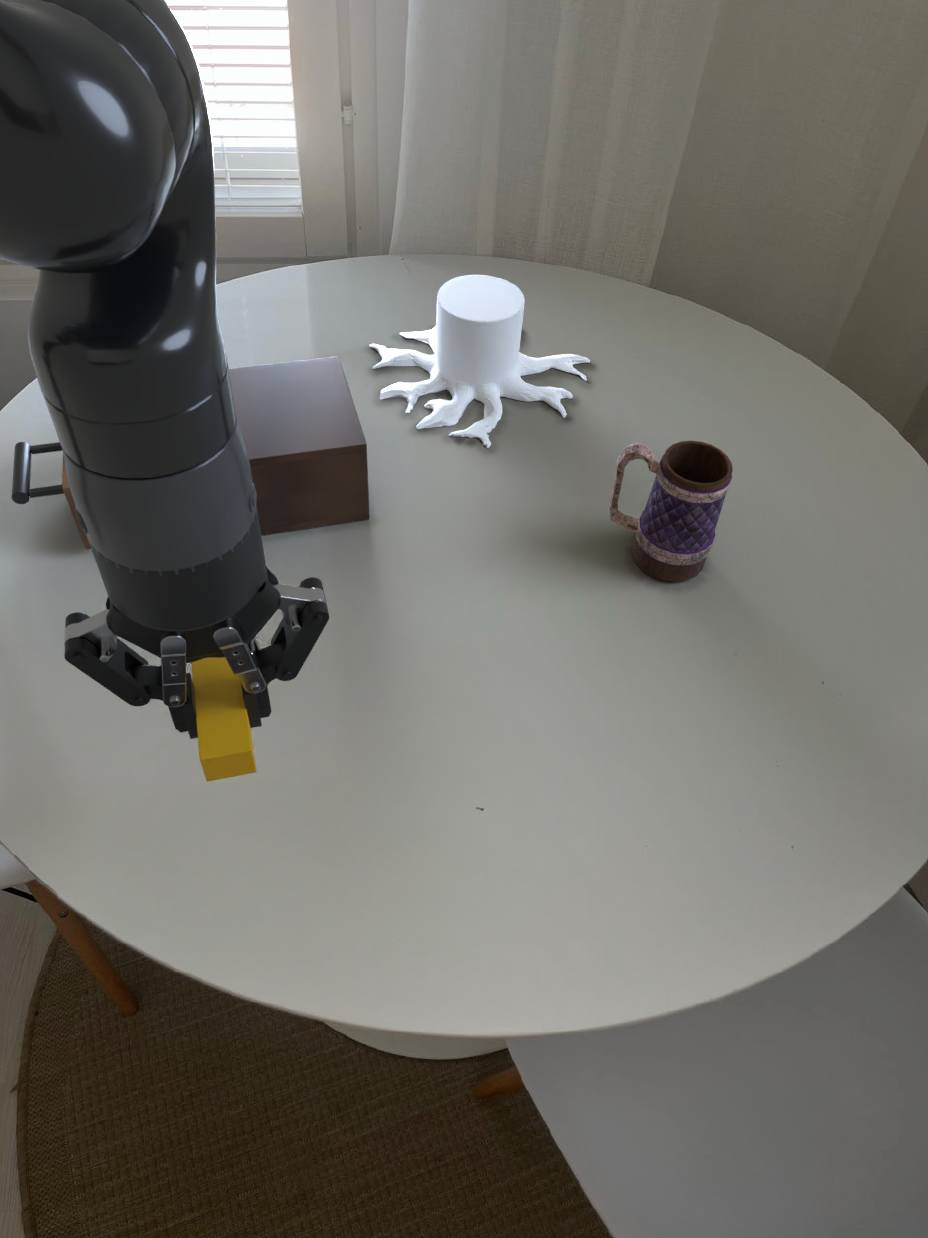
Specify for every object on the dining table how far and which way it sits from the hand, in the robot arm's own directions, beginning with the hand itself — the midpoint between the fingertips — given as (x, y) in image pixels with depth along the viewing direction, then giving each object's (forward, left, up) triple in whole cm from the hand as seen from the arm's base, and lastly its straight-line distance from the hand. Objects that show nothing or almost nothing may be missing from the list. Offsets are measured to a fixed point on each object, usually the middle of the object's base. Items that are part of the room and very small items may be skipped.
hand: (224, 719), depth 54 cm
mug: (+40, +21, -16) cm, 47 cm away
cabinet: (+7, +38, -15) cm, 41 cm away
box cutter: (0, 0, 0) cm, 0 cm away
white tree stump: (+32, +51, -16) cm, 62 cm away
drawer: (-6, +38, -14) cm, 41 cm away
